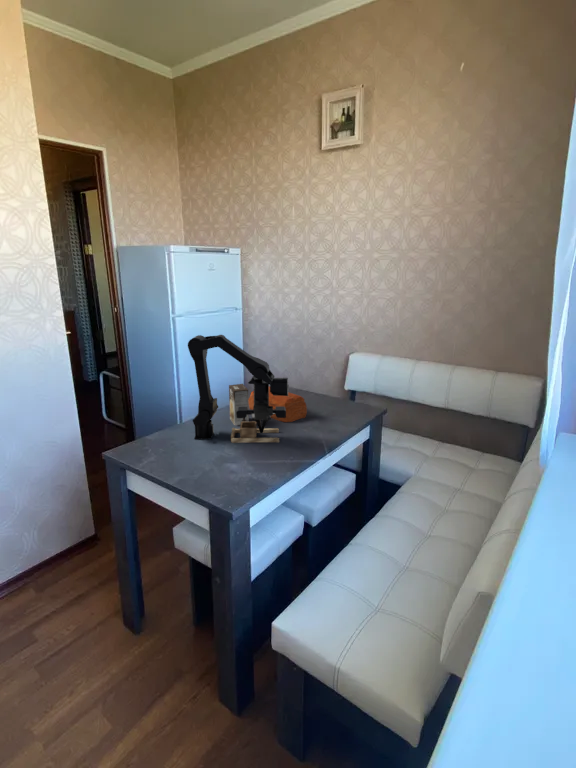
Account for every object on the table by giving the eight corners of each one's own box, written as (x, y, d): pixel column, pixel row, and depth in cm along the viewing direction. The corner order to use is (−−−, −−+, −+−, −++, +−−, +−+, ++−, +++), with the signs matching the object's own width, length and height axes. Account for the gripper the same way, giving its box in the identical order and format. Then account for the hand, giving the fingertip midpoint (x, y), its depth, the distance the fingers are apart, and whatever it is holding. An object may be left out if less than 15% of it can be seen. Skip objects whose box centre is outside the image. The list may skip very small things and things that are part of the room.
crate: (240, 440, 161) (240, 428, 160) (241, 433, 168) (241, 421, 166) (256, 440, 161) (255, 428, 160) (256, 433, 168) (256, 421, 167)
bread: (270, 403, 207) (269, 382, 204) (310, 417, 189) (310, 394, 186) (245, 410, 196) (244, 388, 194) (285, 426, 178) (285, 402, 175)
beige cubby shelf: (230, 445, 159) (229, 438, 158) (232, 432, 170) (232, 426, 169) (283, 444, 160) (283, 437, 159) (282, 432, 171) (282, 425, 170)
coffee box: (229, 420, 184) (228, 384, 179) (243, 418, 186) (242, 383, 181) (234, 427, 176) (233, 390, 171) (249, 425, 178) (248, 389, 173)
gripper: (234, 401, 152) (235, 441, 156) (286, 401, 153) (286, 441, 157) (237, 392, 162) (238, 430, 167) (285, 392, 163) (285, 429, 168)
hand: (261, 432), depth 164 cm, fingers closed
